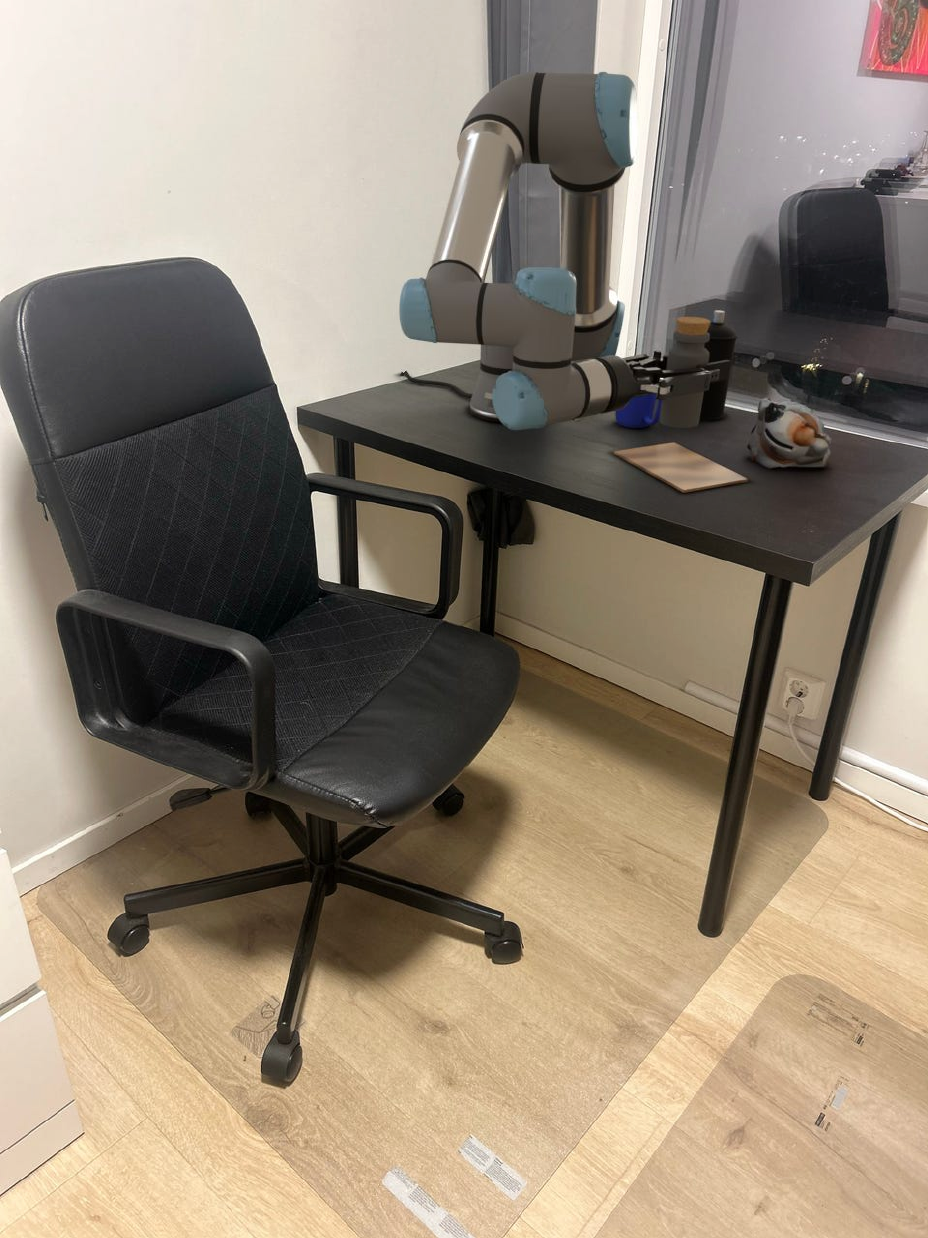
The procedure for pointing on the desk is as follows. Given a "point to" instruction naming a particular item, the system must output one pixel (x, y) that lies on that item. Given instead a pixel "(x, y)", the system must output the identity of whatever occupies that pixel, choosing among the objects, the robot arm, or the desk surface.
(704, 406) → the aerosol can
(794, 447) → the lucky cat figurine
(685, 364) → the bottle
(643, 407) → the mug
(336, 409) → the desk surface
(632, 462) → the wooden board
